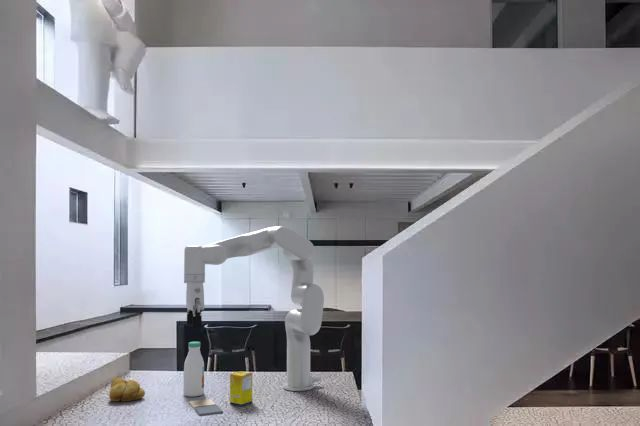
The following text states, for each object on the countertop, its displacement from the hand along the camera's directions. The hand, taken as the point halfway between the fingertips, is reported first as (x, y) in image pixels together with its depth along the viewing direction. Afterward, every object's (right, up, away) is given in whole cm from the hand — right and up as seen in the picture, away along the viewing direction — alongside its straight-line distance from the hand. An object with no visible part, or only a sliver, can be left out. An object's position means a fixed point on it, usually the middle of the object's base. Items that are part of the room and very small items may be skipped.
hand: (194, 325), depth 202 cm
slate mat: (+8, -27, -11) cm, 30 cm away
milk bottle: (-3, -29, +11) cm, 31 cm away
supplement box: (+17, -28, -2) cm, 33 cm away
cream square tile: (+4, -28, -2) cm, 28 cm away
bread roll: (-26, -29, +4) cm, 39 cm away
